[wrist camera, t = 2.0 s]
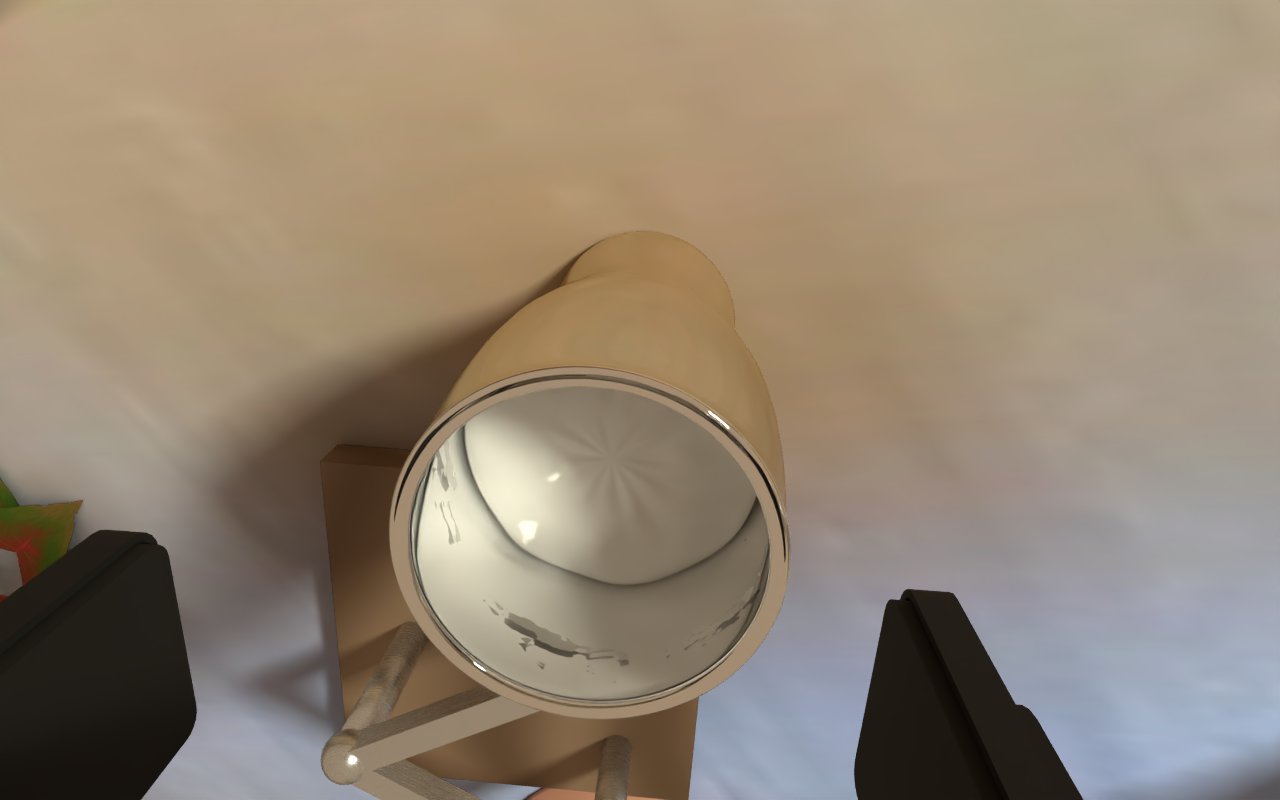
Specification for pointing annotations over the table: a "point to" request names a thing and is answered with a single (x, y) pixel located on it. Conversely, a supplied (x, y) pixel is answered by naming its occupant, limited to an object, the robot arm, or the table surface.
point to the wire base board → (500, 754)
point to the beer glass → (601, 494)
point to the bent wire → (431, 733)
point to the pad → (571, 795)
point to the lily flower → (35, 532)
